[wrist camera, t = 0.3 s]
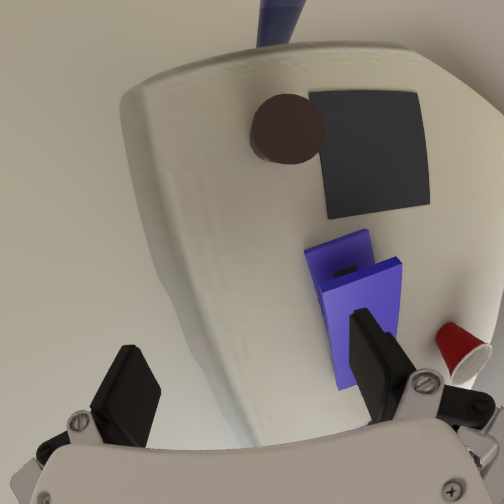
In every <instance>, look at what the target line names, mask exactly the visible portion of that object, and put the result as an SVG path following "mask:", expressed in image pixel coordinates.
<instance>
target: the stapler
mask: <svg viewBox="0 0 504 504" xmlns="http://www.w3.org/2000/svg"><path fill="white" fill-rule="evenodd" d="M304 253H305V256H306V259H307V262H308V266H309V269H310V272H311V276H312V279H313V282H314V286H315V289H316V293H317V296H318V300H319V303H320V307H321V310H322V314H323V317H324V321H325V325H326V328H327V332H328V336H329V341H330V347H331V353H332V359H333V365H334V371H335V378H336V384H337V387H338V390H339V391H340V390H343V389H346V388H348V387H351V386H354V385H357V382H356V380H355V378H354V375H353V373H352V371H351V368H350V365H349V315H350V314H353V311H354V310H357V309H361V308H365V307H367V308H368V310H369V311H370V313H371V314H372V315H373V317H374V318H375V320H376V321H377V323H378V324H379V325H380V327H381V328H382V330H383V331H384V333H385V332H390V333H391V334H392V335H393V336H394V338H395V339H396V333H397V325H398V317H399V307H400V295H401V281H402V262H401V261H400V260H399V259H398V258H397V257H396V256H395V257H393V258H390V259H387V260H385V261H382V262H380V263H377V264H375V261H374V256H373V250H372V245H371V240H370V235H369V231H368V230H366V229H363V230H360V231H357V232H354V233H352V234H349V235H346V236H343V237H341V238H338V239H335V240H332V241H329V242H327V243H324V244H321V245H318V246H315V247H313V248H310V249H307V250H304Z"/></svg>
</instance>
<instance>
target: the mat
mask: <svg viewBox="0 0 504 504" xmlns="http://www.w3.org/2000/svg"><path fill="white" fill-rule="evenodd" d="M308 94H309V99H310V101H311V102H312V103H313V104H314V105H315V106H316V107H317V108H318V109H319V111H320V113H321V114H322V116H323V119H324V122H325V126H326V135H325V139H324V143H323V145H322V147H321V148H320V150H319V153H320V159H321V166H322V173H323V180H324V187H325V195H326V203H327V212H328V219H329V220H330V219H336V218H342V217H348V216H355V215H361V214H367V213H374V212H380V211H387V210H393V209H400V208H407V207H413V206H420V205H427V204H430V188H429V171H428V160H427V150H426V142H425V134H424V127H423V121H422V115H421V109H420V104H419V99H418V94H417V93H413V92H399V91H374V90H349V91H323V92H309V93H308Z"/></svg>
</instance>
